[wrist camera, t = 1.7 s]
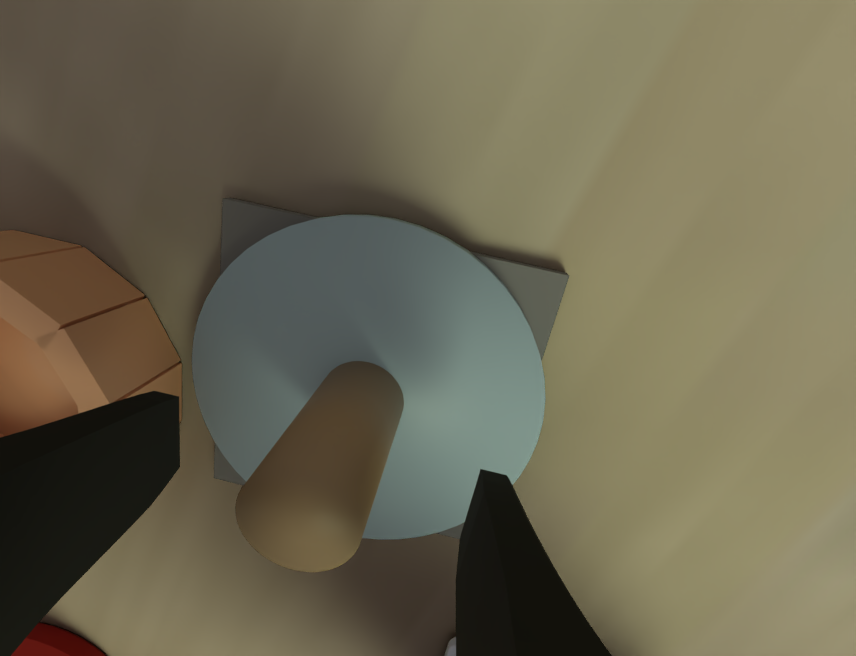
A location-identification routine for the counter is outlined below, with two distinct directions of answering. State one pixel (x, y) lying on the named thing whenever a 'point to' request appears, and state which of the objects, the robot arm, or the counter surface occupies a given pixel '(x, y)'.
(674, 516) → the counter surface
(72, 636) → the canned food
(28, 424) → the bowl
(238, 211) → the mat
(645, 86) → the counter surface
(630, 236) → the counter surface
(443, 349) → the lid
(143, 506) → the robot arm
